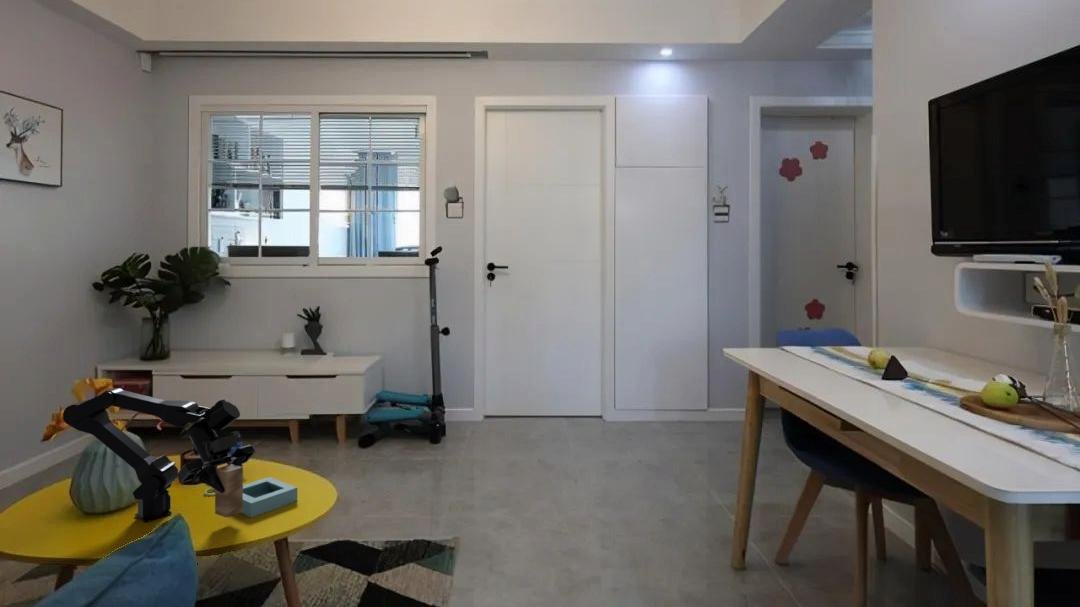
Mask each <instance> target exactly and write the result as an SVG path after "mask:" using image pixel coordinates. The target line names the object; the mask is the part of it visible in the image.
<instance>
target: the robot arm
mask: <svg viewBox="0 0 1080 607" xmlns="http://www.w3.org/2000/svg"><path fill="white" fill-rule="evenodd" d="M111 407H116V408H120V409H125V410H128V411H133V412H137V413H142V414H146V415H150V416H152V417H157V418H159V419H160V420H161V421H162V422H163V423H165V424H168V425H170V426H173V427H174V428H175V427H176V428H182V431H181V432H180V434H179V438H181V439H190V441H191V442H192V444H193V446H194V448H195V452H194V455H195V456H199V457H200V459H199V458H197V459H194V460H191V461H187V462H185V463H184V465H183V466H182V468H180V470H179V469H178V467H177V466H176V465H177V462H175V461H173V460H171V459H169V457H168V456H167V455H166V454H162V455H160V456H153V455H152V454H150V453H149V452H148V451H146V449H144V448H143V447H141V445H139V444H138V442H136V441H135V440H134V439H133V438H131V437H130V436H128V435H127V434H126V433H125V432H123V431H122V430H121V429H120V428H119V427H118V426H117V425H115V424H114V423H113V422H112V421H111V420H110V417H109V414H108V411H107V409H109V408H111ZM240 417H241V412H240V410H239V409H238V407H237V406H236V405H234V404H233V403H231V402H229V401H227V400H226V399H225V398H221V399H219V400H218V401H217V402H216V403H215V404H214V405H213V406H211V407H207V406H201V405H199V404H198V403H197V402H194V401H193V400H179V399H178V400H164V399H161V398H157V397H153V396H150V395H149V396H148V395H146V394H145V395H144V394H140V393H136V392H133V391H129V390H128V391H127V390H123V389H122V388H119V387H114V388H111V389H108V390H106V391H102V393H100V394H99V395H97V396H95V397H92V398H91V399H85V400H82V401H80V402H77V403H73V404H69V405H68V406H67V407H65V409H64V410H63V413H62V421H63V422H64V423H65V424H66V425H67V426H69V427H71V428H73V429H74V430H76V431H79V432H82V433H86V434H89V435H92V436H93V437H95V438H96V439H97V440H99V442H100V443H102V444H103V445H105V447H107V448H108V449H109V450H110V451H112V452H113V453H114V454H115V455H116V456H118V458H120V459H121V460H122V461H124V463H126V464H127V465H128V466H130V467H131V468H132V469H133V470H134V471H135V475H136V477H137V480H138V481H139V483H140V485H139V486H137V488H135V489H134V491H132V496H133V498H134V499H135V500H137V513H135V514H134V517H136V518H137V519H139V520H140V521H142V520H143V521H142V522H144V521H145V522H144V523H146V521H148V522H150V521H149V520H151V521H154V520H157V519H160V518H163V517H166V516H169V515H168V514H170V515H172V514H173V513H172V510H171V499H172V498H171V495H170V494H169V490H168V489H170V488H171V487H172V485H173V483H174V482H175V481H176V480H178V481H179V483H180V484H184V483H187V482H190V481H192V480H193V479H194V481H195V482H200V483H202V484H204V485H206V486H209V488H214V489H215V490H217V491H219V492H221V493H224V492H225V489H224V487H223V485H222V483H221V481H220V479H219V478H218V476H217V474H216V471H215V469H216V467H218V466H221V465H222V466H223V465H225V464H226V466H227V465H230V464H233V465H237V466H240V467H241V464H242V465H243V464H245V463H248V461H249V460H250V459H251V458H252V457H253V455H254V454H255V453H256V449H255V447H254V446H253V445H252V444H247V445H242V447H239V448H237V450H236V451H235V452H234V453H233V454H231V455H229V454H228V453H229V452H231V450H232V449H231V448H232V447H235V446H238V443H239V442H242V441H243V437H242V434H241V432H240V431H239V430H237V431H236V430H235V431H232V432H231V433H229V434H228V436H224V437H223V436H222V435H220V436H218V434H217V432H216V431H223V430H225V429H226V428H227V427H228V426H230V425H231V424H232V423H233V422H235V421H236V420H237V419H239V418H240ZM189 424H191V425H190V426H188V427H185V426H187V425H189ZM195 475H196V478H194V476H195Z"/></svg>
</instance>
